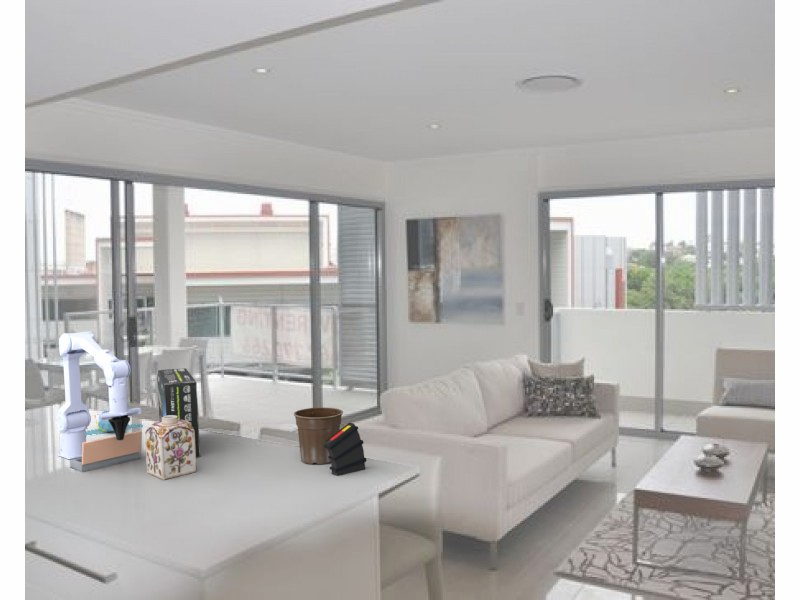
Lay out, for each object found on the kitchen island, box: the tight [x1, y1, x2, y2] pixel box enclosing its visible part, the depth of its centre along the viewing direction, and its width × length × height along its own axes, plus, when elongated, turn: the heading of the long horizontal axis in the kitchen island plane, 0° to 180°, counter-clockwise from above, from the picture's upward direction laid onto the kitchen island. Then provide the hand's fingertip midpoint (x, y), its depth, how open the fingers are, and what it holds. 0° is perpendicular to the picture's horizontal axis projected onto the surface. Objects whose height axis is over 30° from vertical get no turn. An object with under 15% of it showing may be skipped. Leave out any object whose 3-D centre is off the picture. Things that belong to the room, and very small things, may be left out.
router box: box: [156, 368, 201, 458], centre depth 253 cm, size 36×11×27 cm, turn 23°
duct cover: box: [81, 430, 143, 465], centre depth 232 cm, size 7×20×1 cm
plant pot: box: [293, 406, 344, 465], centre depth 233 cm, size 16×16×16 cm
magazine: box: [324, 422, 367, 476], centre depth 218 cm, size 4×13×15 cm, turn 127°
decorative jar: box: [144, 415, 197, 481], centre depth 222 cm, size 12×12×18 cm
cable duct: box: [69, 451, 141, 473], centre depth 236 cm, size 8×20×2 cm, turn 139°
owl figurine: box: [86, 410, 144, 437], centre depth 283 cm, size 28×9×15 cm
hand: (120, 439), depth 229 cm, fingers closed
